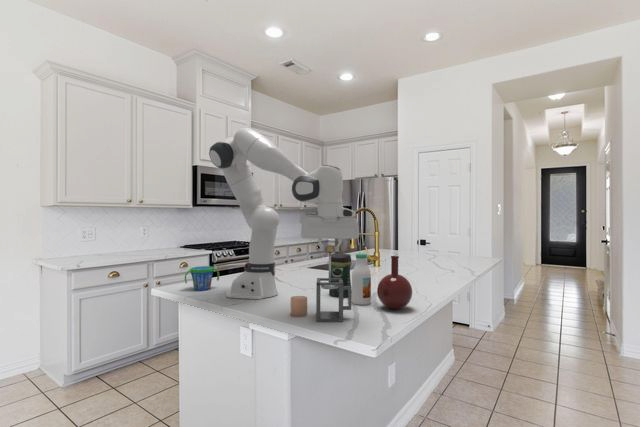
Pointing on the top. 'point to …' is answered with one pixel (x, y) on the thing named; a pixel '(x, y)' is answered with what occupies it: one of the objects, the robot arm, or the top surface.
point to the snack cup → (202, 277)
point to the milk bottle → (361, 281)
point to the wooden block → (298, 306)
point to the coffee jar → (340, 272)
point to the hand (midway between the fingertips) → (329, 251)
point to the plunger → (329, 250)
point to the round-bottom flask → (394, 288)
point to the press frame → (335, 315)
